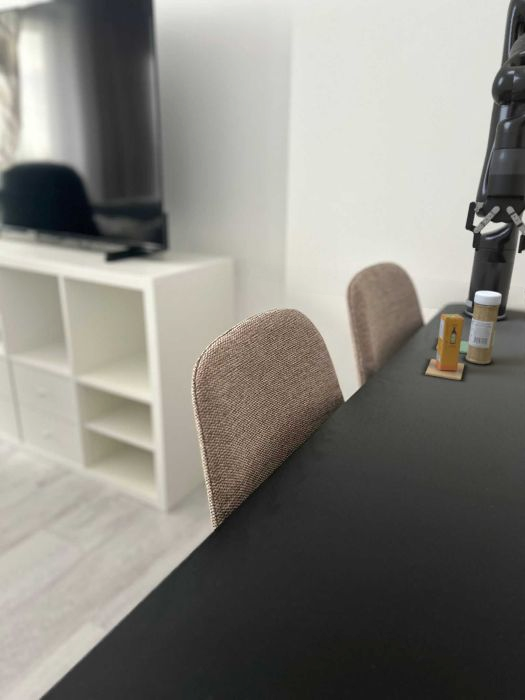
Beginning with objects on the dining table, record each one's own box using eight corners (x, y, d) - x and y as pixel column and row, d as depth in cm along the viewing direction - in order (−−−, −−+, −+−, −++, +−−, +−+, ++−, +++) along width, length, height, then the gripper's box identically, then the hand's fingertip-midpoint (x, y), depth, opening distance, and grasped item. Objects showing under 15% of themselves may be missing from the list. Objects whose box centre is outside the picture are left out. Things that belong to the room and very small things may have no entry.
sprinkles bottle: (494, 361, 99) (506, 293, 95) (484, 366, 96) (495, 296, 92) (471, 355, 102) (481, 288, 98) (460, 360, 99) (471, 292, 95)
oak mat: (431, 360, 99) (431, 358, 99) (464, 365, 96) (464, 363, 96) (425, 374, 92) (425, 372, 92) (460, 380, 90) (461, 378, 89)
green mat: (439, 339, 111) (440, 337, 111) (469, 343, 109) (469, 341, 109) (436, 349, 105) (436, 347, 105) (467, 353, 103) (467, 351, 103)
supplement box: (452, 365, 96) (460, 313, 92) (457, 371, 92) (465, 318, 89) (434, 364, 96) (441, 312, 92) (438, 371, 93) (445, 317, 89)
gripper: (548, 173, 106) (535, 252, 111) (474, 173, 113) (465, 248, 118) (547, 172, 100) (533, 255, 105) (470, 172, 107) (460, 251, 111)
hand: (497, 251), depth 111 cm, fingers open, 8 cm apart
